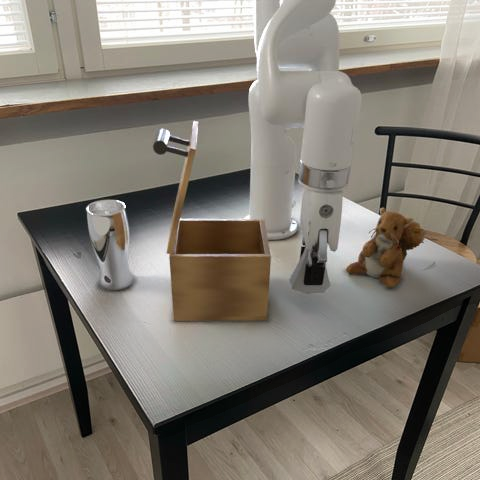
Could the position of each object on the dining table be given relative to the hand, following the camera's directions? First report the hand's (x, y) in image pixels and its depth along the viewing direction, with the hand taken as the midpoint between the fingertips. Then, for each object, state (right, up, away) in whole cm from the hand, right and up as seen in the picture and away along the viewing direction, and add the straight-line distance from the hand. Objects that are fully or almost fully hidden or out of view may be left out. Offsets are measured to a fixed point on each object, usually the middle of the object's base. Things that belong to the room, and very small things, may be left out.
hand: (310, 274), depth 86 cm
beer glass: (-35, -1, +8) cm, 36 cm away
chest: (-16, -4, +4) cm, 17 cm away
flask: (0, -2, +1) cm, 2 cm away
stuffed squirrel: (+16, +2, +13) cm, 21 cm away
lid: (-21, +13, -9) cm, 26 cm away
